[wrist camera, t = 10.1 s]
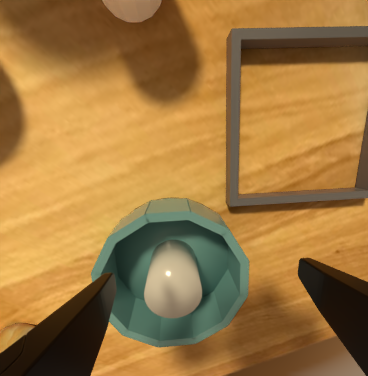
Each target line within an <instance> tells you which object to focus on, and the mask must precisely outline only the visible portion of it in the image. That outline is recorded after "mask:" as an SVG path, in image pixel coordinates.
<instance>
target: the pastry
mask: <svg viewBox="0 0 368 376" xmlns="http://www.w3.org/2000/svg"><path fill="white" fill-rule="evenodd" d="M34 327H35V326H33V325H30V324H27V323H15V324H13V325H11V326H8V327H5V328H4V329H2V330H0V353H1V352H2V351H4V350H5V349H6V348H8V347H9V346H10V345H12V344H13V343H14V342H16V341H17V340H18V339H20V338H21V337H22V336H23V335H25V334H26V335H27V333H28V332H29V331H30V330H31V329H33V328H34Z"/></svg>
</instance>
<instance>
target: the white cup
mask: <svg viewBox="0 0 368 376" xmlns="http://www.w3.org/2000/svg"><path fill="white" fill-rule="evenodd" d="M102 1H103V3H104V5H105V6H106V7H107V8H108V9H109V10H110V11H111V12H112V13H113V15H114V16H115V17H117V18H120V19H122V20H124V21H126V22H142V21H144V20H146V19H148V18H150V17H152V16H153V14H154V13H155V12H156V11H157V9H158V8H159V7H160V5H161V1H162V0H102Z"/></svg>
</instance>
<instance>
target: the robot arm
mask: <svg viewBox="0 0 368 376" xmlns="http://www.w3.org/2000/svg"><path fill="white" fill-rule="evenodd" d="M298 276H299V279H300V280H301V282H302V284H303V285H304V287H305V289H306V290H307V292H308V293H309V295H310V297H311V298H312V300H313V302H314V303H315V305H316V307H317V308H318V310H319V311H320V313H321V314H322V315H323V317H324V318H325V320H326V321H327V322H328V324H329V325H330V327H331V328H332V329H333V331H334V332H335V333H336V335H337V336H338V338H339V339H340V340H341V342H342V343H343V344H344V346H345V347H346V349H347V350H348V351H349V353H350V354H351V355H352V357H353V358H354V360H355V361H356V362H357V364H358V365H359V366H360V368H361V369H362V371H363V372H364V373H365V375H366V376H368V282H366V281H364V280H362V279H359V278H357V277H354V276H352V275H349V274H347V273H345V272H342V271H340V270H337V269H335V268H333V267H330V266H328V265H325V264H323V263H321V262H318V261H316V260H313V259H311V258H301V259H300V260H299V267H298ZM115 295H116V282H115V276H114V273H104V274H103V275H101V276H100V277H99V278H97V279H96V280H95V281H94V282H92V283H91V284H90V285H88V286H87V287H86V288H84V289H83V290H82V291H81V292H79V293H78V294H77V295H75V296H74V297H73V298H72V299H70V300H69V301H68V302H66V303H65V304H64V305H62V306H61V307H60V308H59V309H57V310H56V311H55V312H53V313H52V314H51V315H49V316H48V317H47V318H46V319H44V320H43V321H42V322H40V323H39V324H38V325H37V326H35V327H34V328H33V329H31V330H30V331H29V332H28V333H27V335H26V334H25V335H23V336H22V337H21V338H20V339H18V340H17V341H16V342H14V343H13V344H12V345H10V346H9V347H8V348H6V349H5V350H4V351H2V352H1V353H0V376H90V375H91V372H92V370H93V367H94V364H95V361H96V358H97V355H98V353H99V350H100V347H101V344H102V341H103V339H104V336H105V333H106V330H107V327H108V323H109V319H110V315H111V311H112V307H113V303H114V299H115Z"/></svg>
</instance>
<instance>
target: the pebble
mask: <svg viewBox="0 0 368 376" xmlns="http://www.w3.org/2000/svg"><path fill="white" fill-rule="evenodd" d="M144 298H145V302H146V304H147V306H148V307H149V309H150V310H151V311H152V312H154V313H155V314H157V315H159V316H161V317H165V318H179V317H183V316H186V315H188V314H189V313H191V312H192V311H194V310H195V309H196V308H197V306H198V305H199V303H200V301H201V298H202V287H201V282H200V277H199V272H198V267H197V262H196V257H195V253H194V251H193V249H192V248H191V246H190V245H188V244H187V243H185V242H184V241H181V240H167V241H164V242H162V243H160V244H159V245H158V246H157V247H156V248H155V249H154V251H153V253H152V256H151V261H150V266H149V271H148V276H147V281H146V286H145V290H144Z"/></svg>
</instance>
